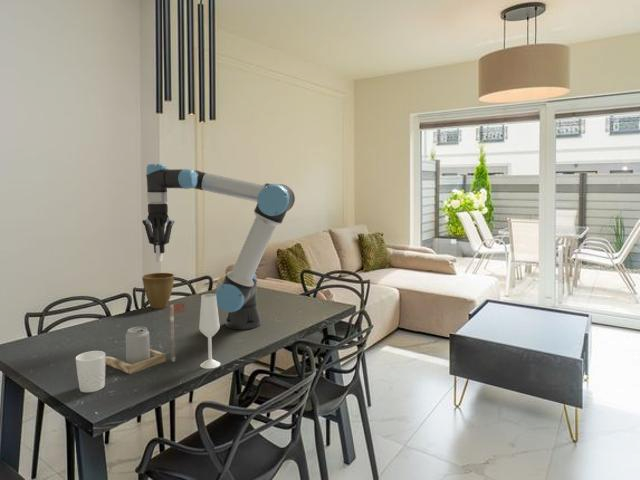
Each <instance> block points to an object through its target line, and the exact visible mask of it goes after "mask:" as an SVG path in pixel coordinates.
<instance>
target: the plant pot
mask: <svg viewBox="0 0 640 480" xmlns="http://www.w3.org/2000/svg"><path fill="white" fill-rule="evenodd" d="M141 277H142V284H143V288H144V292H145V296H146V299H147V301H148V304H149V306H150V308H151V309H153V310H154V309H155V310H160V309H166V308H168V305H169V301H170V300H171V295H172V292H173V287H174V280H175V274H174V273H169V272H153V273H146V274H144V275H142V276H141Z"/></svg>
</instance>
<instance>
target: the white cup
mask: <svg viewBox="0 0 640 480" xmlns="http://www.w3.org/2000/svg"><path fill="white" fill-rule="evenodd" d="M105 356H106V352H105V351H102V350H91V351H86V352H82V353H80V354H78V355H76V356H75V364H76V367H75V368H76V374H77V380H78V381H77V382H78V386H79V391H80V392H81V393H94V392H98V391H99V390H102V389H103V388H105V385H106V365H105Z"/></svg>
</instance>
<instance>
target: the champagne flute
mask: <svg viewBox="0 0 640 480" xmlns="http://www.w3.org/2000/svg"><path fill="white" fill-rule="evenodd" d="M200 297H201V299H200V311H199V323H198V328H199V331H200V333H201V334H202V335H204V336H205V337H206V338H207V351H208V353H207V355H208V357H207V358H208V359H206V360H205V361H204V362H202V363H201V364H200V367H201V368H203V369H216V368H218V367H220V366H221V362H220V361H218V360H215V359H213V355H212V354H213V346H212V345H213V344H212V341H213V340H212V339H213V338H212V337H214V336H215V335H216V334H217V333H218V331H219V330H220V327H221V326H220V318H219V316H220V315H219V306H218V305H217V299H216V294H215V293H205V294H202V295H201V296H200Z"/></svg>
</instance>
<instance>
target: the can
mask: <svg viewBox="0 0 640 480" xmlns="http://www.w3.org/2000/svg"><path fill="white" fill-rule="evenodd" d="M150 342H151V341H150V331H149V330H148V327H145V326H134V327H130V328H128V329H127V331H126V333H125V357H126V359H125V360H126V363H128V364H131V365H132V364H135V363H138V362H140V361H143V360H146V359H149V358H150V349H151V348H150V347H151V345H150V344H151V343H150Z"/></svg>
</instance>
